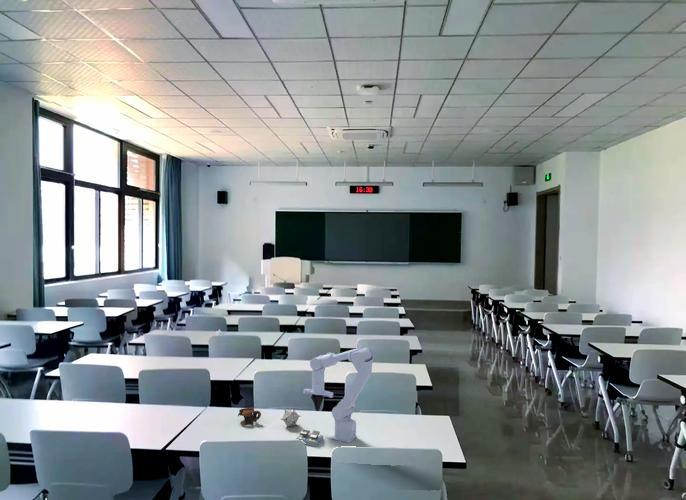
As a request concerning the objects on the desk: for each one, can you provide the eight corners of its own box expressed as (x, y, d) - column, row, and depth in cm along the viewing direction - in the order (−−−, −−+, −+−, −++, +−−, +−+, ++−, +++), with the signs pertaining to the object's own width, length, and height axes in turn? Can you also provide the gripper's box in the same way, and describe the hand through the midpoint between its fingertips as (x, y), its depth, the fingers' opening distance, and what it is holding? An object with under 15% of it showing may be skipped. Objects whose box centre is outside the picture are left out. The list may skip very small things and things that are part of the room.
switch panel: (323, 439, 218) (323, 434, 218) (316, 446, 211) (316, 440, 211) (303, 435, 222) (303, 430, 222) (296, 442, 215) (296, 436, 215)
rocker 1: (309, 432, 218) (309, 430, 218) (306, 436, 215) (306, 433, 215) (304, 431, 220) (304, 429, 219) (300, 434, 216) (300, 432, 216)
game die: (286, 434, 232) (274, 417, 232) (295, 422, 239) (283, 406, 239) (298, 429, 227) (285, 413, 226) (307, 417, 234) (294, 401, 233)
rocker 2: (319, 432, 216) (319, 431, 216) (316, 439, 213) (315, 437, 213) (313, 431, 218) (313, 430, 217) (310, 438, 214) (309, 436, 214)
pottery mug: (235, 427, 231) (234, 409, 235) (243, 428, 240) (242, 411, 243) (258, 422, 230) (257, 404, 233) (265, 424, 238) (264, 407, 242)
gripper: (335, 381, 229) (335, 409, 230) (307, 377, 234) (307, 405, 235) (329, 385, 223) (329, 414, 223) (301, 381, 228) (301, 410, 228)
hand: (317, 410), depth 229 cm, fingers closed
